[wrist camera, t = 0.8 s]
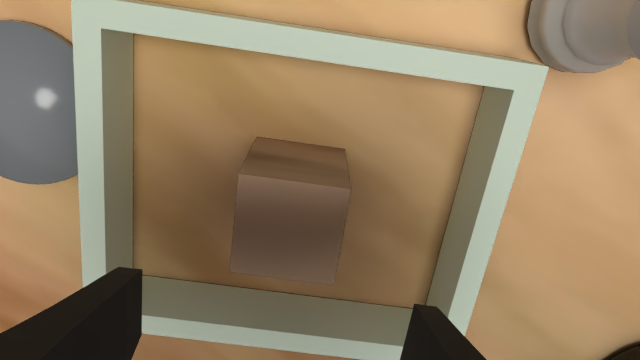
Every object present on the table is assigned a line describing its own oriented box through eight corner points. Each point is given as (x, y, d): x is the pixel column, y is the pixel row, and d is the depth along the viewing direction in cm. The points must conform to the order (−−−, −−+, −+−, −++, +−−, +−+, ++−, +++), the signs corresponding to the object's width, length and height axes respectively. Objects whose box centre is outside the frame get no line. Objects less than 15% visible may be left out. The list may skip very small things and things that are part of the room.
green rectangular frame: (438, 328, 24) (453, 370, 21) (112, 288, 23) (84, 326, 21) (516, 58, 19) (549, 66, 17) (108, -5, 19) (70, -7, 16)
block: (331, 227, 22) (333, 285, 18) (249, 216, 22) (229, 272, 17) (344, 148, 21) (351, 189, 16) (257, 136, 21) (238, 173, 16)
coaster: (111, 189, 21) (105, 194, 21) (-43, 168, 21) (-53, 173, 21) (109, 34, 19) (102, 34, 18) (-65, 8, 19) (-77, 8, 18)
